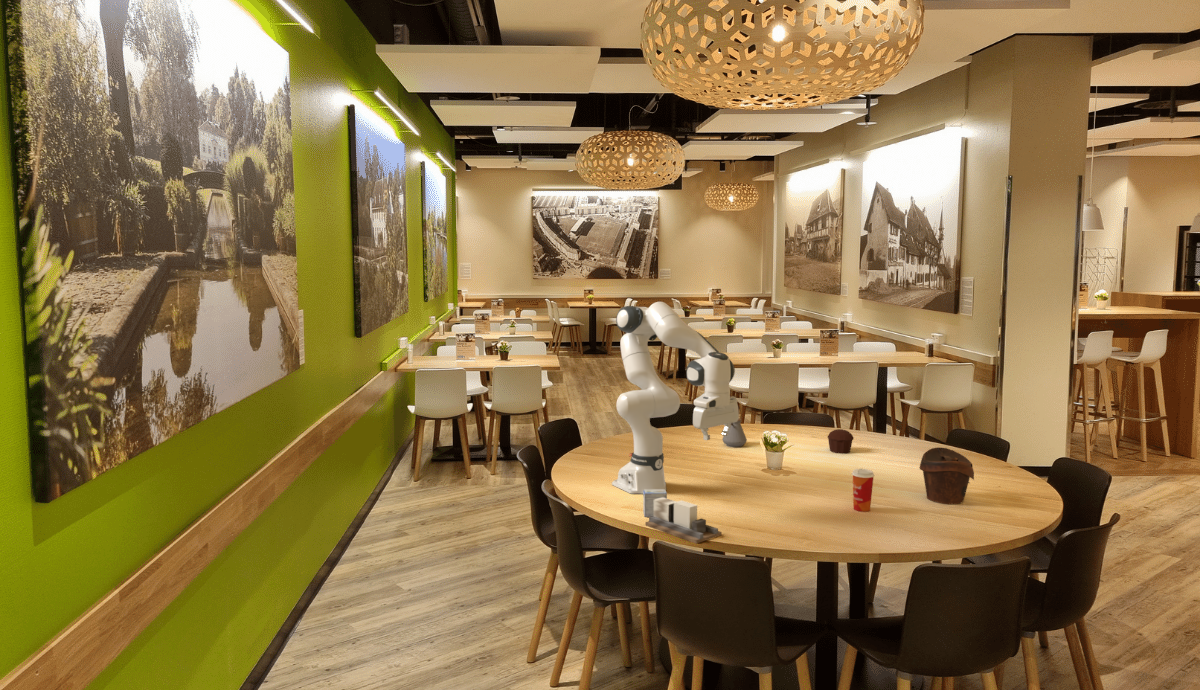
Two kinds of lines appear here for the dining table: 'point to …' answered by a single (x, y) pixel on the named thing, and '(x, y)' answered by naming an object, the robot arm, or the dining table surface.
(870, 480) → the paper cup
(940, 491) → the chocolate cupcake
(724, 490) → the dining table surface
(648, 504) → the medicine box
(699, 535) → the rail
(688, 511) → the white box
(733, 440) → the coffee pot
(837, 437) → the muffin
